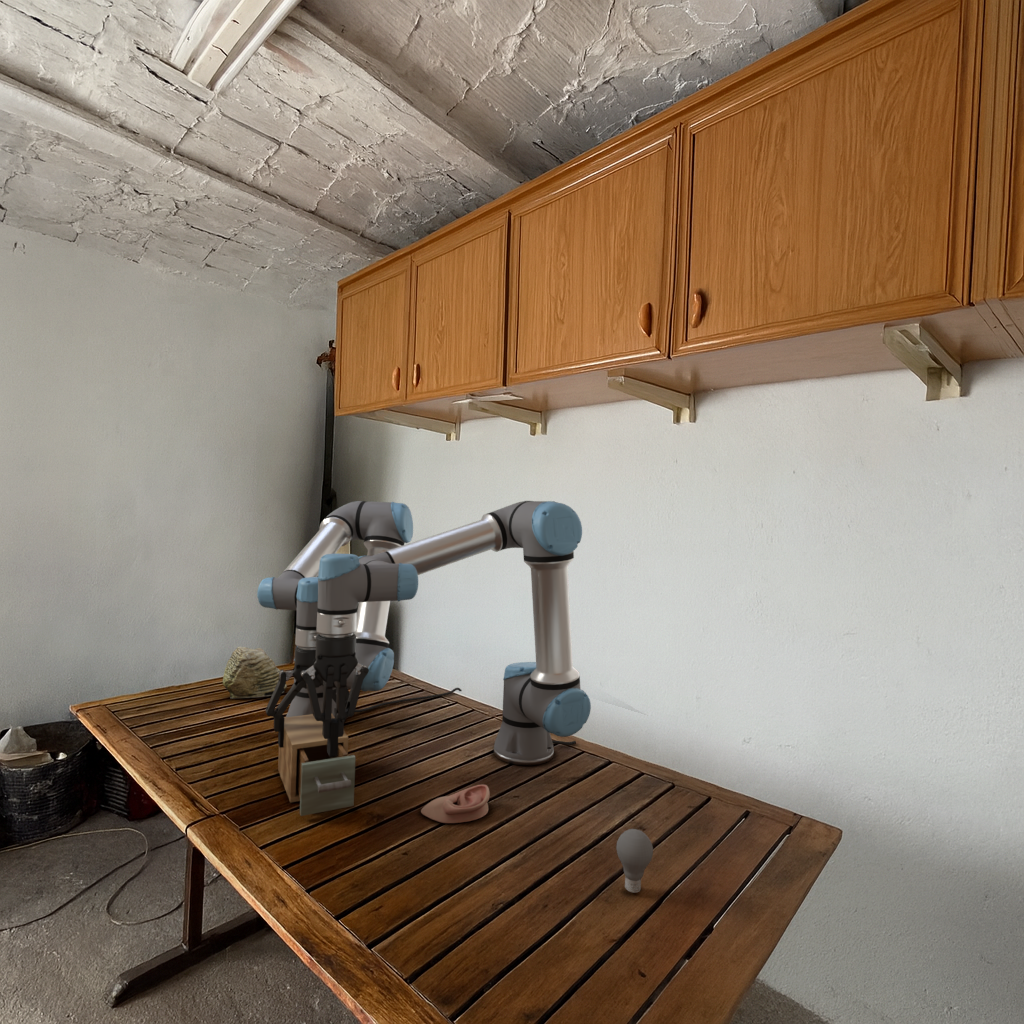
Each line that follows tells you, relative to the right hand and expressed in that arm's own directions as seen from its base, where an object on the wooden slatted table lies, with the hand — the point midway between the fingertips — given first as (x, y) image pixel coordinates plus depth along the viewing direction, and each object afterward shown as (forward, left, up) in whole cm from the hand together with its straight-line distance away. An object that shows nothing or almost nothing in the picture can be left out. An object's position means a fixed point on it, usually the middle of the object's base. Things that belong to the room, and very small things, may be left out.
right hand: (332, 753), depth 124 cm
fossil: (+13, -86, -13) cm, 88 cm away
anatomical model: (-25, +4, -13) cm, 28 cm away
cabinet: (+2, -19, -13) cm, 23 cm away
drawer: (+1, -7, -12) cm, 14 cm away
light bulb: (-44, +39, -13) cm, 60 cm away
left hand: (+2, -23, -6) cm, 24 cm away
